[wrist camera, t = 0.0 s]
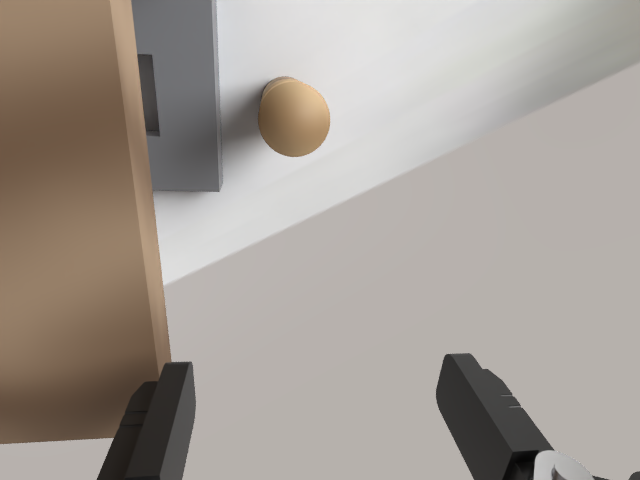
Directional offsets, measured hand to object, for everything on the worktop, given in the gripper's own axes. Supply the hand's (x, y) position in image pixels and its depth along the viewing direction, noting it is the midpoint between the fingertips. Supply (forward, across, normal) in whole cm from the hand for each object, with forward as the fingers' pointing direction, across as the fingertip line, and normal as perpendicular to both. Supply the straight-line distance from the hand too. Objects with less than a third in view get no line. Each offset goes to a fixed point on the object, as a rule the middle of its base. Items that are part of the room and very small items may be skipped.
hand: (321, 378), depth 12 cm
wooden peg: (+29, 0, -6) cm, 30 cm away
